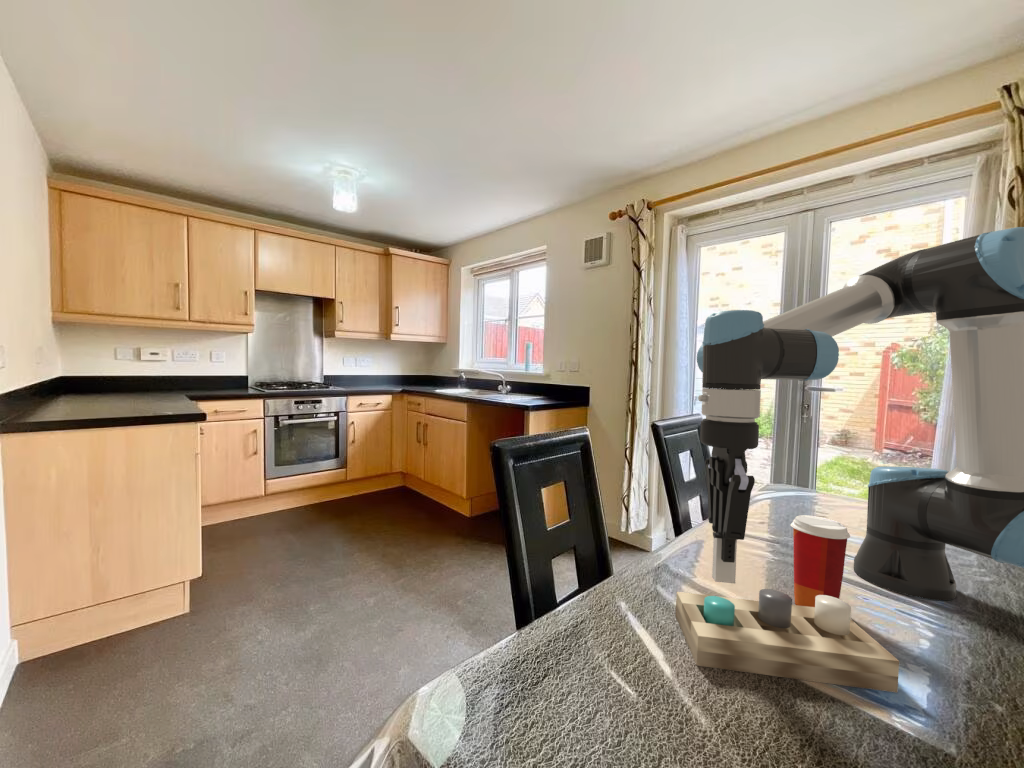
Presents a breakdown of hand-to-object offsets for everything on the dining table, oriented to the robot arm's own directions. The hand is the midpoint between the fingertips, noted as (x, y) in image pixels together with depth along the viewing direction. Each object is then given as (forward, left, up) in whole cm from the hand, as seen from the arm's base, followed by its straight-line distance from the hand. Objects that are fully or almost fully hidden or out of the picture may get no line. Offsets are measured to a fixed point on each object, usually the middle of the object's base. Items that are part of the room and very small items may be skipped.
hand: (723, 579), depth 62 cm
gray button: (-7, 0, -5) cm, 9 cm away
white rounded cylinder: (-14, 0, -5) cm, 15 cm away
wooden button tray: (-7, 0, -9) cm, 12 cm away
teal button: (+1, 0, -7) cm, 7 cm away
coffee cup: (-20, -14, -9) cm, 26 cm away
